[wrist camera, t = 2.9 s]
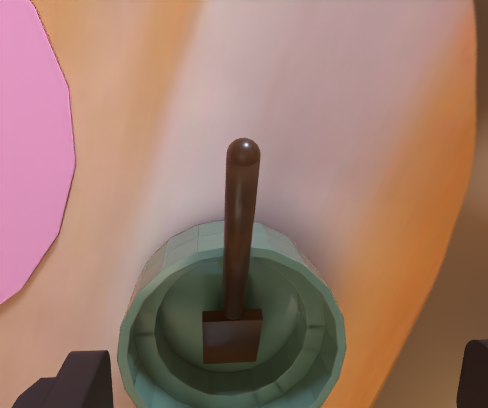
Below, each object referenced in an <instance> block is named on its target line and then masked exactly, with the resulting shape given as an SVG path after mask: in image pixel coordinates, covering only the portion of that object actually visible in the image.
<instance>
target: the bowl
mask: <svg viewBox="0 0 488 408" xmlns="http://www.w3.org/2000/svg"><path fill="white" fill-rule="evenodd" d="M223 248H224V220H223V221H217V222H211V223H205V224H199V225H196V226H194V227H192V228H190V229H188V230H186V231H184V232H182V233H180V234H178V235H176V236H175V237H173V238H171V239H170V240H168V241H167V242H166V243H165V244H164V245H163V246H162V247H161V248H160V249H159V250H158V251H157V252H156V253H155V254H154V255H153V256H152V257H151V258H150V259H149V260H148V262H147V263H146V265H145V267H144V269H143V271H142V273H141V275H140V277H139V279H138V281H137V283H136V285H135V288H134V290H133V293H132V296H131V299H130V301H129V304H128V307H127V310H126V312H125V315H124V318H123V321H122V324H121V327H120V335H119V344H118V353H117V362H118V366H119V369H120V373H121V377H122V381H123V385H124V388H125V390H126V392H127V394H128V395H129V397H130V398H131V399H132V401H133V402H134V404H135V405H136V407H137V408H320V407H321V406H322V405H323V403H324V402H325V400H326V398H327V397H328V395H329V394H330V392H331V390H332V389H333V387H334V386H335V384H336V382H337V381H338V378H339V376H340V372H341V368H342V364H343V360H344V356H345V352H346V337H345V327H344V318H343V315H342V313H341V311H340V309H339V307H338V304H337V302H336V300H335V298H334V296H333V294H332V292H331V290H330V288H329V287H328V285H327V284H326V282H325V281H324V279H323V278H322V276H321V275H320V273H319V272H318V270H317V269H316V267H315V266H314V264H313V263H312V261H311V260H310V258H309V257H308V256H307V255H306V254H305V253H304V252H303V251H302V250H301V249H300V248H299V247H298V246H297V245H296V244H295V243H294V242H293V241H292V240H291V239H290V238H289V237H288V236H286V235H284V234H282V233H280V232H278V231H276V230H274V229H271V228H269V227H267V226H265V225H263V224H260V223H254V224H253V234H252V243H251V253H250V263H249V272H248V282H247V291H246V301H245V309H262V315H263V324H262V330H261V336H260V342H259V348H258V354H257V360H256V362H240V363H220V364H203V332H202V311H216V310H222V278H223Z"/></svg>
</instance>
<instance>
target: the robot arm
mask: <svg viewBox="0 0 488 408" xmlns="http://www.w3.org/2000/svg"><path fill="white" fill-rule="evenodd" d="M12 408H114V407H113V393H112V378H111V363H110V355H109V352H108V351H107V350H102V351H72V352H70V353H69V354H68V356H67V358H66V359H65V361H64V363H63V365H62V367H61V369H60V370H59V372H58V374H57V376H56V377H54V378H40V379H39V380H38V381H37V382H35V383H34V384H33V385H32V386H31V387H29V388H28V389H27V390H26V391H25V392H23V393H22V394H21V395H20V396H19V397H18V398H17V400H16V402H15V403H14V405H13V406H12ZM457 408H488V339H487V340H472V341H469V342H468V343H467V345H466V347H465V351H464V357H463V363H462V369H461V375H460V381H459V387H458V393H457Z"/></svg>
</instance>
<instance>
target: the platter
mask: <svg viewBox="0 0 488 408" xmlns="http://www.w3.org/2000/svg"><path fill="white" fill-rule="evenodd" d="M74 169H75V154H74V144H73V133H72V122H71V112H70V101H69V90H68V86H67V84H66V81H65V79H64V77H63V74H62V72H61V69H60V67H59V65H58V62H57V60H56V57H55V55H54V52H53V50H52V48H51V45H50V43H49V40H48V38H47V36H46V33H45V31H44V28H43V26H42V24H41V21H40V19H39V16H38V14H37V12H36V9H35V7H34V6H33V4H32V3H31V2H30V1H29V0H0V304H2V303H3V302H4V301H6V300H7V299H8V298H10V297H11V296H12V295H14V294H15V293H16V292H18V291H19V290H20V289H22V287H23V286H24V284H25V283H26V281H27V280H28V278H29V277H30V275H31V274H32V273H33V271H34V270H35V268H36V267H37V265H38V264H39V262H40V261H41V259H42V258H43V256H44V255H45V253H46V252H47V250H48V249H49V247H50V246H51V244H52V243H53V241H54V240H55V238H56V237H57V235H58V234H59V231H60V227H61V223H62V219H63V214H64V210H65V206H66V202H67V198H68V194H69V190H70V186H71V182H72V177H73V173H74Z"/></svg>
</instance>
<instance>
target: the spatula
mask: <svg viewBox="0 0 488 408" xmlns="http://www.w3.org/2000/svg"><path fill="white" fill-rule="evenodd" d="M260 157H261V156H260V149H259V147H258V145H257V144H256V143H255V142H254V141H253V140H251V139H248V138H239V139H236V140H235V141H233V142H232V143H231V144H230V145H229V147H228V150H227V158H226V188H225V218H224V248H223V278H222V310H216V311H202V332H203V364H220V363H240V362H256V360H257V354H258V348H259V342H260V336H261V330H262V324H263V315H262V309H245V301H246V291H247V282H248V272H249V263H250V253H251V243H252V234H253V224H254V214H255V205H256V195H257V186H258V176H259V166H260Z"/></svg>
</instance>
